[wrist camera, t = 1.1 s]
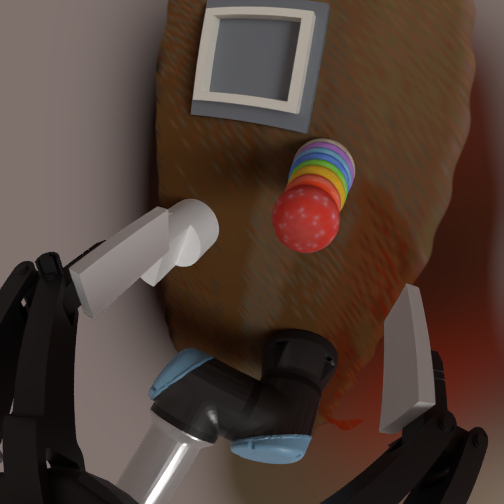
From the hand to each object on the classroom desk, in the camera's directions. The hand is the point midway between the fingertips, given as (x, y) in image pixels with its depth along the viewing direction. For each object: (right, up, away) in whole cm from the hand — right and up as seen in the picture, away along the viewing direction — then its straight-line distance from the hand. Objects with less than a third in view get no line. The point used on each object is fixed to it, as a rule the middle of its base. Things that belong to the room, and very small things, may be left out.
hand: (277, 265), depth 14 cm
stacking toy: (+8, +11, +19) cm, 24 cm away
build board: (-1, +25, +14) cm, 29 cm away
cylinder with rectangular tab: (-11, +5, +31) cm, 33 cm away
